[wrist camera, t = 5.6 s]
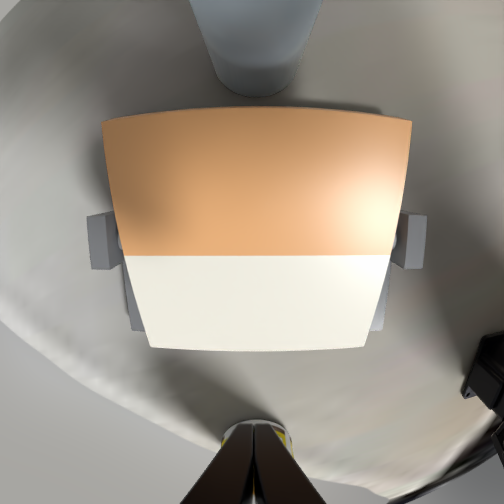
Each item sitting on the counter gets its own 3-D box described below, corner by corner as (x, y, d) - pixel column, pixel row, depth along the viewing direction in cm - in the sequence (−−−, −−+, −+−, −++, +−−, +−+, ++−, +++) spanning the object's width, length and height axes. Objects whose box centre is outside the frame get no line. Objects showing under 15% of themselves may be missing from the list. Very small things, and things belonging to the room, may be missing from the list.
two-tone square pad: (404, 117, 11) (427, 124, 9) (366, 320, 16) (375, 345, 14) (108, 118, 11) (85, 125, 9) (147, 320, 16) (138, 345, 15)
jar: (295, 29, 15) (330, -96, 4) (299, 98, 16) (355, -9, 5) (215, 29, 15) (178, -95, 4) (213, 98, 16) (157, -8, 5)
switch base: (387, 122, 16) (433, 102, 11) (376, 323, 19) (411, 366, 13) (125, 122, 16) (79, 103, 11) (137, 324, 19) (102, 367, 14)
